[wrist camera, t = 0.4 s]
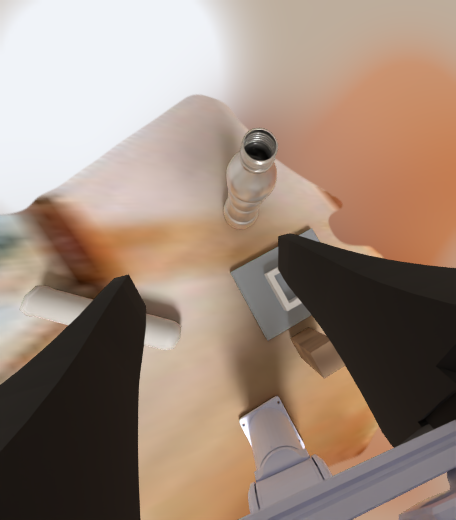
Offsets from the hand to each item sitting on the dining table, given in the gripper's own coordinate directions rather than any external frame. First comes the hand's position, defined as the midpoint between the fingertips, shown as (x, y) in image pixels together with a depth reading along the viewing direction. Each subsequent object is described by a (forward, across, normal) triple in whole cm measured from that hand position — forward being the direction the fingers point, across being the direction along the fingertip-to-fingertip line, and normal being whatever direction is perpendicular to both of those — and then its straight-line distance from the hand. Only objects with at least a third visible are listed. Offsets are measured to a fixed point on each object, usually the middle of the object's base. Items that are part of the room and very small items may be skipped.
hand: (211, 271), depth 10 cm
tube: (+22, +18, +20) cm, 34 cm away
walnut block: (+10, -14, +29) cm, 34 cm away
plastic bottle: (+28, -9, +10) cm, 31 cm away
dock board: (+18, -15, +21) cm, 31 cm away
